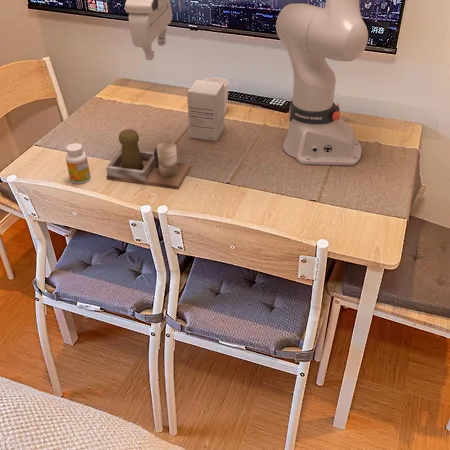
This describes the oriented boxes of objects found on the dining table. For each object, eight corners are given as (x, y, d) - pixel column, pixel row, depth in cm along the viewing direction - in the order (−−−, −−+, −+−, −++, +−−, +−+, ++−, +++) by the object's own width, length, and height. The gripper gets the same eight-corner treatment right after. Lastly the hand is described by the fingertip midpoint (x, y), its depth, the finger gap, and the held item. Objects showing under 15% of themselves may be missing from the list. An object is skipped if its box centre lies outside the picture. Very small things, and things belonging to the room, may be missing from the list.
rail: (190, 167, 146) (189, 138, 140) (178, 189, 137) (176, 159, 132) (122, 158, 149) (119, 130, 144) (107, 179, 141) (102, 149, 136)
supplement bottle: (66, 177, 142) (59, 145, 136) (85, 171, 144) (79, 139, 138) (75, 186, 138) (68, 154, 132) (94, 179, 141) (88, 147, 135)
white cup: (228, 116, 170) (228, 87, 164) (203, 116, 170) (202, 87, 164) (228, 106, 176) (228, 77, 170) (204, 106, 176) (204, 77, 170)
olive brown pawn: (147, 164, 145) (144, 128, 138) (136, 175, 141) (132, 139, 134) (128, 160, 147) (123, 124, 140) (117, 171, 142) (111, 134, 136)
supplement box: (197, 124, 166) (195, 78, 157) (225, 128, 164) (225, 82, 155) (188, 137, 159) (186, 91, 150) (216, 141, 157) (216, 94, 148)
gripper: (151, -18, 134) (157, 36, 143) (121, 7, 119) (130, 66, 127) (175, -18, 133) (179, 37, 141) (148, 8, 117) (155, 68, 126)
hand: (156, 51), depth 134 cm, fingers open, 8 cm apart
